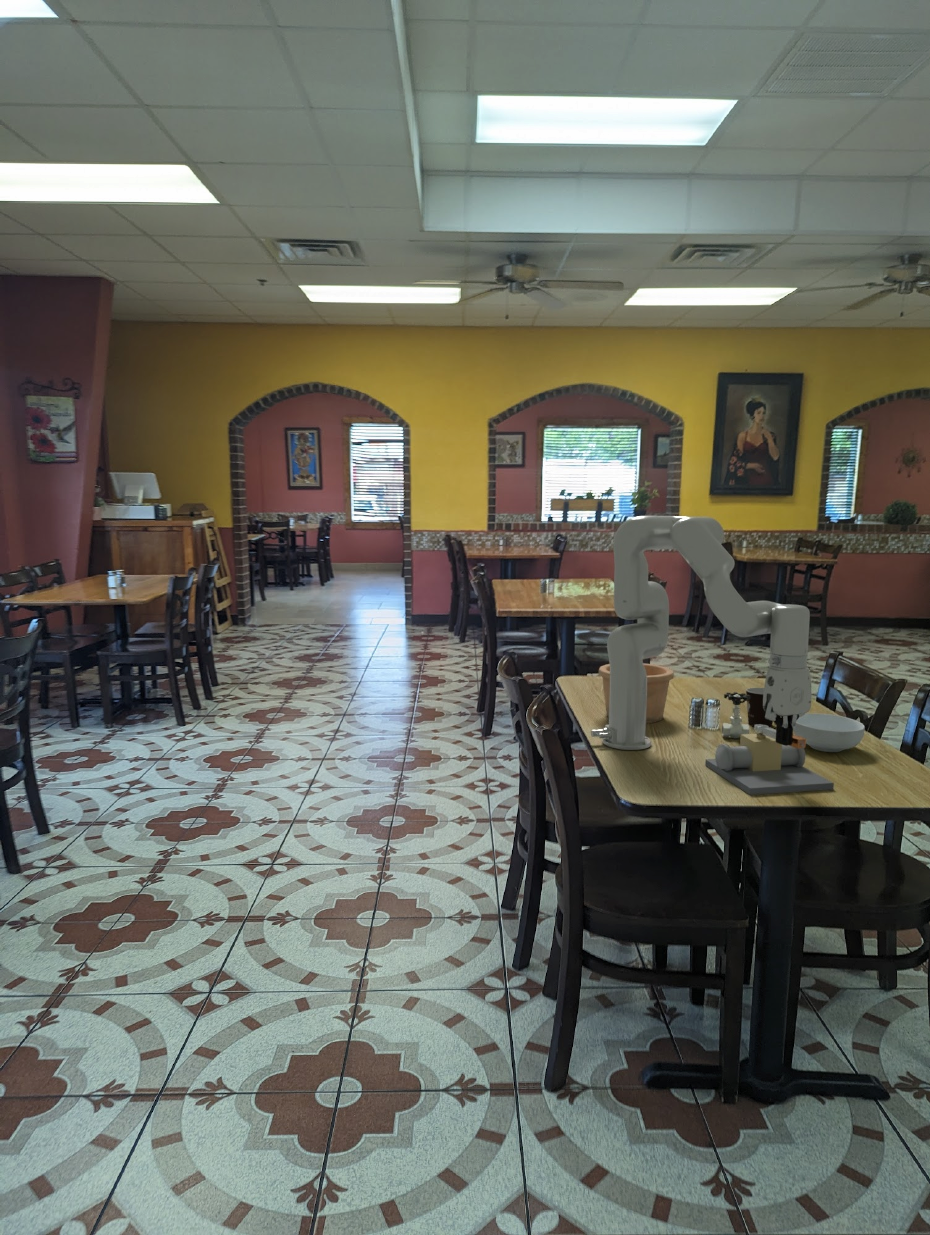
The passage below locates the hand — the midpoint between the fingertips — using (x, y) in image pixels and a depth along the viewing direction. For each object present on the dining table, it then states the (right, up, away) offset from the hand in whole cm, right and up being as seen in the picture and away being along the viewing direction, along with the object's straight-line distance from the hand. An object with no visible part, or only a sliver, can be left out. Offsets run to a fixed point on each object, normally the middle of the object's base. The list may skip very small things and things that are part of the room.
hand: (783, 743), depth 168 cm
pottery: (-19, -2, +61) cm, 64 cm away
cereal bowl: (+24, -6, +31) cm, 39 cm away
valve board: (-1, -9, +8) cm, 12 cm away
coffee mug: (+16, -3, +53) cm, 56 cm away
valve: (+3, -5, +39) cm, 40 cm away
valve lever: (+1, 0, +5) cm, 5 cm away
